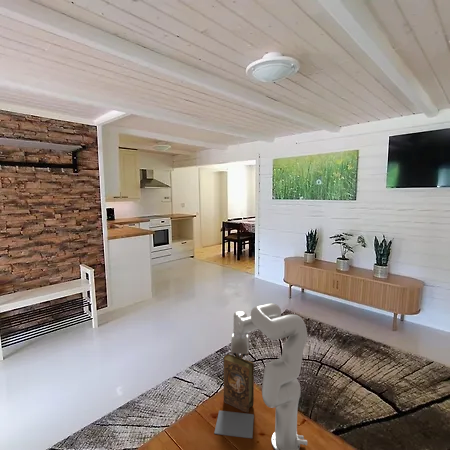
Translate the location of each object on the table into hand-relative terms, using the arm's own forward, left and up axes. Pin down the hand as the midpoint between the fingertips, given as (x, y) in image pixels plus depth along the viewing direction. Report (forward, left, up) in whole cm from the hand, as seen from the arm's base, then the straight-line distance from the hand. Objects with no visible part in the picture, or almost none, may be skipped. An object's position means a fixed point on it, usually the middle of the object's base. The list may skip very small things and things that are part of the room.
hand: (239, 363), depth 161 cm
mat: (0, +26, -16) cm, 30 cm away
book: (0, +12, -16) cm, 20 cm away
